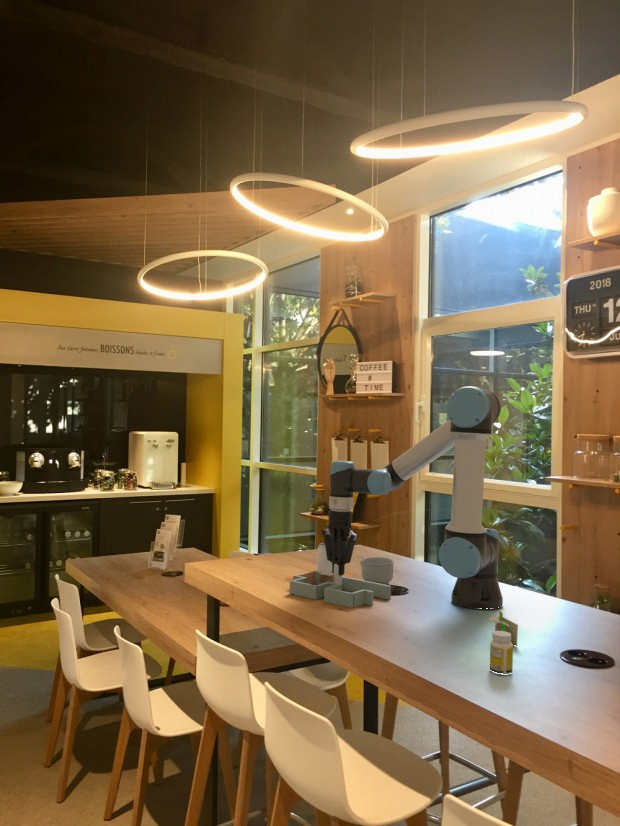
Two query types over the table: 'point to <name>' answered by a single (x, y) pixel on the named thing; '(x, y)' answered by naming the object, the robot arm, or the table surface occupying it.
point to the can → (323, 560)
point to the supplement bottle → (501, 652)
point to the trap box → (338, 590)
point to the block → (326, 577)
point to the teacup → (377, 569)
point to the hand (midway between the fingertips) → (337, 584)
